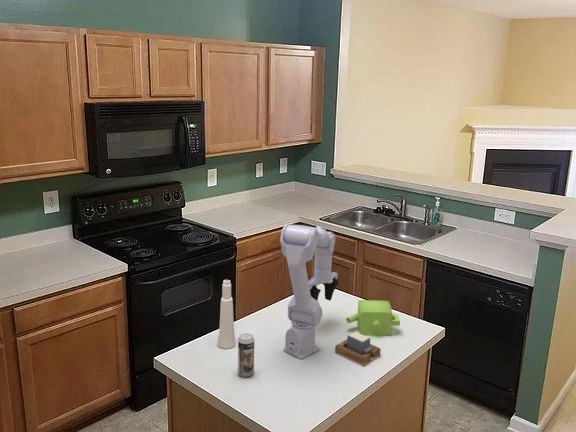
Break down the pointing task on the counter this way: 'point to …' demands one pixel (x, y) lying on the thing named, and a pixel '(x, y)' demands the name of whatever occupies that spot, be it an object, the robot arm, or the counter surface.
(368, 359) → the pocket block
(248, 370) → the beer can
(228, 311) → the cosmetic bottle
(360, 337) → the block
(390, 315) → the gearbox
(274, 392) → the counter surface
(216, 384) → the counter surface
